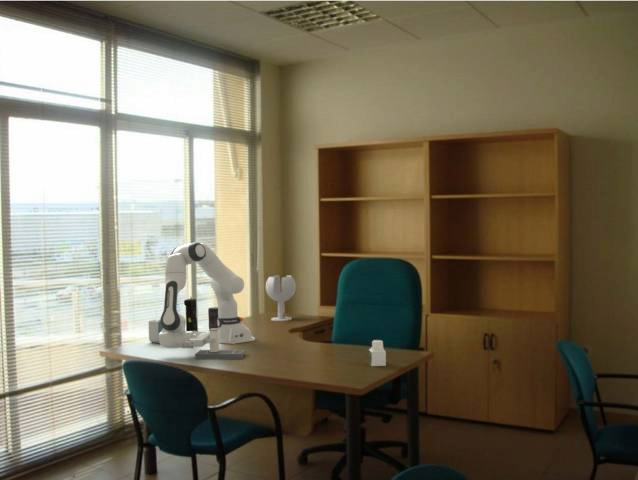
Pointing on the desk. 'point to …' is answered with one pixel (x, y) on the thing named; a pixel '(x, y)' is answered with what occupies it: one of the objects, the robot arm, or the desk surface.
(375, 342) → the medicine bottle
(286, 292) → the stemmed glass
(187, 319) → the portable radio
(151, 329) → the stereo radio cassette player
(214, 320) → the camera lens
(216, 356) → the mixing console
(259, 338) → the desk surface
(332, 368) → the desk surface
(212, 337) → the fader knob
